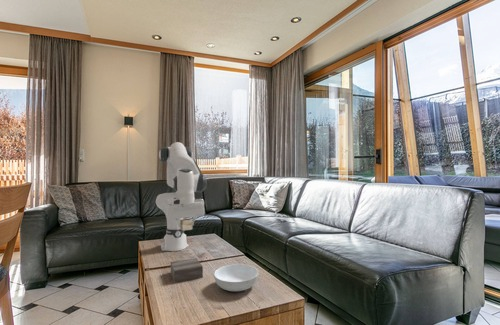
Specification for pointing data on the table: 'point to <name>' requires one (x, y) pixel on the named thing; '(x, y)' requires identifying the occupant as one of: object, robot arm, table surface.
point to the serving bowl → (236, 277)
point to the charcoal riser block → (186, 270)
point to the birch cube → (186, 224)
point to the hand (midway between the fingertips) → (186, 226)
